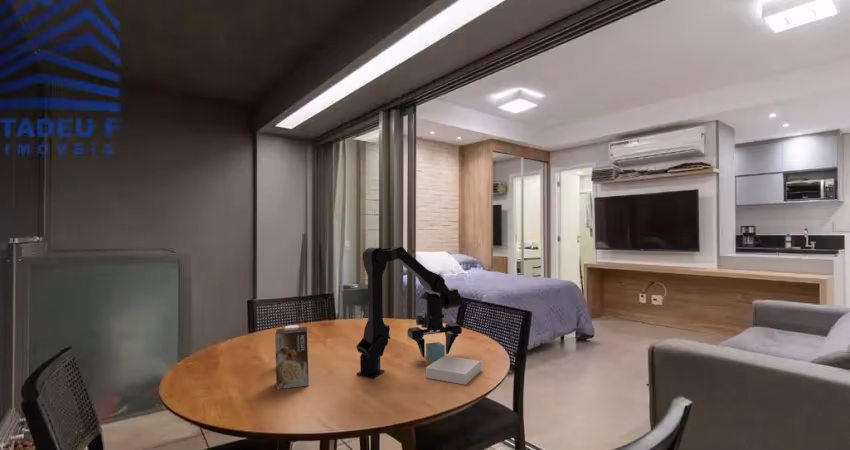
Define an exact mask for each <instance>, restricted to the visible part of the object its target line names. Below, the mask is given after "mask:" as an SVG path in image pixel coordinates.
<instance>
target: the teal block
mask: <svg viewBox="0 0 850 450" xmlns="http://www.w3.org/2000/svg"><path fill="white" fill-rule="evenodd" d="M445 353H446V345H444V344H443V343H441V342H439V341H436V342H429V343H425V357H426V359H427V360H428V361H430V362H431V363H434V362H435V361H437V360H438V359H440V358H441V357H443V356H446V354H445Z"/></svg>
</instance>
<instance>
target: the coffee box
mask: <svg viewBox="0 0 850 450" xmlns="http://www.w3.org/2000/svg"><path fill="white" fill-rule="evenodd" d="M274 338H275V339H274V340H275V342H274V345H275V377H276V378H275V382H276V385H275V386H276V388H277V389H276V388H275V389H276V390H279V389H278V388H284V389H291V387H292V388H300V387H307V386H309V385H310V375H309V348H308V347H309V345H308V343H309V342H308V341H309V340H308V327H307V326H304V327H300V326H299V328H287V329H285V328H279V329H278V328H277V329H276V331H275V336H274Z"/></svg>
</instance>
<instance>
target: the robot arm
mask: <svg viewBox="0 0 850 450" xmlns="http://www.w3.org/2000/svg"><path fill="white" fill-rule="evenodd" d="M395 260H396V261H397V262H398V263H399V264H401V265H402V266H403V267H404V268H405V269H407V271H409V272H410V273H411V274H412V275H414V276H415V277H416V279H417V280H418V282H419V284H420V285H421V286H422V287H423V289H424V290H426V291H425V292H424V294H422V295H421V296H420V299H421V300H425V303H426V304H425V310H426V311H425V313H424V317H423V315H417V316H416V317H415V321H416V322H415V323H416V326H417V327H415V326H414V327H409V328H408V329H407V332H406V333H407V337H408V338H410V339H411V340H413V341H415V342H416V344H417V347H418V349H419V351H420V354H421V357H422V359H423V358H425V356H426V343H425V339H424V336H427V335H434V334H442V333H443V334H444V335H445V353H446V354H445V355H449V353H450V351H451V348H452V347H453V345H454V342H455V341H456V338H457V337H459V335H462V334H463V329H462V326H461V325H460V324H458V323H455V322H451V323H445V325H444V322H443V321H444V320H443V319H444V318H445V314H443V309H444V310H450V309H456V308H460V307H461V306H462V303H463V299H462V297H461V294H460V293H459V290H458V289H457V288H452V289H449V287H448V286H447V284H446V282H445V281H446V280H445V279H444V277H443V276H441V275H439V274H438V273H436V272H434V271H431V270H429V269H428V268H426V267H425V266H424V265H423V264H422V263H421V262H419V260H417V259H416V258H415V257H413V256H412V254H410V253H409V252H408V251H407V250H406V249H405V248H404V247H403V246H397V245H396V246H395V245H394V246H392V247H385V248H381V247H368V248H366V249H365V250H364V251H363V253H362V261H363V263H362V264H363V267H364V271H365V272H366V275H367V322H366V324H365V326H364V329H363V330H364V331H363V337H362V339H361V340H360V341H359V342H358V343H357V345H356V350H357V352H358V353H361V355H359V357H360V359H359V361H360V362H359V363H360V370H359V371H358V372H356V375H357V376H360V377H366V378H371V379H374V378H376V377H377V376H379V375H381V374H383V373H384V372H385V370H384V369H381V357H383V355H384V352H385V350H386V349H385V348H386V347H387V346H388V344H389V340H390V339H391V337H390V325H389V324H386V323H385V322H384V313H383V312H384V311H383V310H384V308H383V307H384V304H383V303H384V302H383V301H384V299H383V295H384V294H383V293H384V292H383V289H384V288H383V276H384V273H385V270H386V268H387V262H392V261H395ZM430 292H432V293H430ZM419 326H420V327H419Z"/></svg>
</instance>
